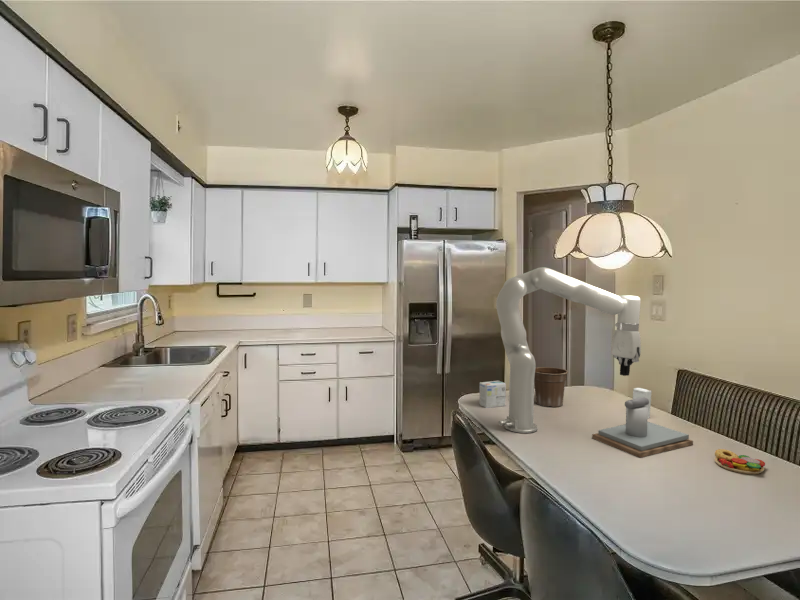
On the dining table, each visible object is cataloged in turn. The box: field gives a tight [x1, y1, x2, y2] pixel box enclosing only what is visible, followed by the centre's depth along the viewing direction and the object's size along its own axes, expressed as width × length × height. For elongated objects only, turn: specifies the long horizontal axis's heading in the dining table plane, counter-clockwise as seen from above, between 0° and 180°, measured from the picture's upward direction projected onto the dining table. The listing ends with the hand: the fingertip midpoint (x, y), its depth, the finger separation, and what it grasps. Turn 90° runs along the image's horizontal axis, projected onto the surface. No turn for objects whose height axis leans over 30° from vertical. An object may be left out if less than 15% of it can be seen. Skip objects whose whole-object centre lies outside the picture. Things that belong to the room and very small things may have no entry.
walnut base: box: [591, 432, 694, 458], centre depth 169 cm, size 28×20×2 cm
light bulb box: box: [479, 380, 507, 409], centre depth 214 cm, size 11×7×11 cm, turn 111°
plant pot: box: [534, 366, 569, 408], centre depth 217 cm, size 16×16×16 cm
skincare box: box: [632, 387, 652, 419], centre depth 197 cm, size 6×4×12 cm
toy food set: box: [714, 448, 766, 475], centre depth 147 cm, size 13×13×3 cm
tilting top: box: [597, 397, 690, 451], centre depth 168 cm, size 25×18×14 cm
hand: (624, 375), depth 176 cm, fingers closed
